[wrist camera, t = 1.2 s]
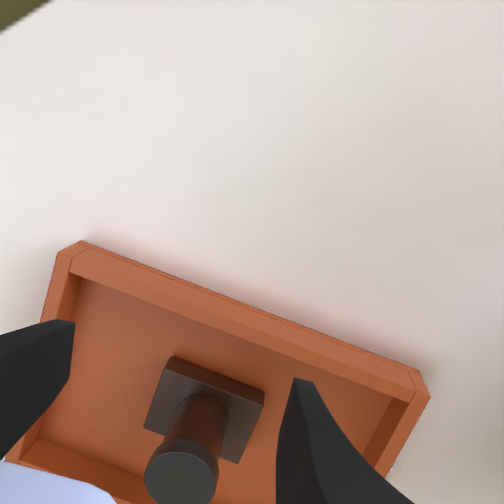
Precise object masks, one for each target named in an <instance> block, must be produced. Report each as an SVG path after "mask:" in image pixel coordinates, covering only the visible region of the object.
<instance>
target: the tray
mask: <svg viewBox="0 0 504 504" xmlns="http://www.w3.org/2000/svg"><path fill="white" fill-rule="evenodd" d="M54 319H61V320H65V321H69V322H73V323H76V326H75V334H74V343H73V351H72V360H71V368H70V377H69V380H68V381H67V383H66V384H65V386H64V387H63V389H62V390H61V392H60V393H59V395H58V396H57V397H56V399H55V400H54V402H53V403H52V404H51V405H50V407H49V408H48V409H47V410H46V411H45V412H44V413H43V414H42V416H41V417H40V418H39V419H38V420H37V421H36V422H35V423H34V424H33V425H32V427H31V428H30V429H29V430H28V431H27V432H26V433H25V434H24V435H23V436H22V437H21V439H20V440H19V441H18V442H17V443H16V444H15V445H14V446H13V447H12V448H11V450H10V451H9V452H8V453H7V454H6V457H5V462H9V463H13V464H17V465H21V466H25V467H28V468H32V469H36V470H40V471H44V472H48V473H51V474H55V475H59V476H63V477H67V478H70V479H74V480H78V481H82V482H86V483H90V484H92V485H94V486H96V487H98V488H100V489H102V490H104V491H106V492H108V493H109V494H110V496H111V497H112V498H113V499H114V501H115V502H116V503H117V504H157V503H156V502H155V501H154V500H153V499H152V498H151V496H150V495H149V493H148V492H147V490H146V487H145V483H144V473H145V469H146V467H147V465H148V462H149V460H150V458H151V456H152V454H153V452H154V451H155V449H156V448H157V447H158V446H160V445H161V444H162V442H163V440H164V437H165V436H163V435H160V434H158V433H155V432H152V431H150V430H147V429H145V428H143V425H144V423H145V420H146V417H147V414H148V411H149V408H150V406H151V403H152V400H153V397H154V394H155V391H156V389H157V386H158V383H159V380H160V377H161V374H162V372H163V369H164V367H165V365H166V363H167V362H168V360H169V358H170V357H173V356H175V357H178V358H180V359H183V360H186V361H188V362H191V363H193V364H196V365H199V366H201V367H204V368H206V369H209V370H212V371H214V372H217V373H219V374H222V375H225V376H227V377H230V378H232V379H235V380H237V381H240V382H243V383H245V384H248V385H250V386H253V387H256V388H258V389H261V390H263V391H264V393H265V400H264V407H263V409H262V411H261V414H260V416H259V418H258V421H257V423H256V425H255V427H254V430H253V432H252V434H251V436H250V439H249V441H248V443H247V446H246V448H245V450H244V452H243V455H242V457H241V459H240V462H239V463H238V464H235V463H233V462H230V461H227V460H225V459H222V458H220V457H219V460H218V467H219V478H218V483H217V487H216V491H215V494H214V497H213V499H212V500H211V501H210V503H209V504H276V453H277V445H278V437H279V430H280V426H281V423H282V419H283V415H284V412H285V408H286V405H287V401H288V397H289V394H290V390H291V386H292V383H293V379H294V377H296V378H300V379H304V380H308V381H312V382H313V383H314V384H315V386H316V388H317V390H318V392H319V393H320V395H321V397H322V399H323V401H324V403H325V404H326V406H327V408H328V410H329V411H330V413H331V415H332V416H333V418H334V419H335V421H336V423H337V424H338V426H339V427H340V429H341V430H342V431H343V433H344V434H345V435H346V437H347V438H348V439H349V441H350V442H351V443H352V445H353V446H354V447H355V448H356V450H357V451H358V452H359V453H360V454H361V455H362V456H363V457H364V459H365V460H366V461H367V462H368V463H369V464H370V465H371V466H372V467H373V468H374V469H375V470H376V471H377V472H378V473H379V474H380V475H381V476H382V477H383V478H384V479H385V478H386V476H387V474H388V472H389V471H390V469H391V467H392V465H393V463H394V462H395V460H396V458H397V456H398V454H399V453H400V451H401V449H402V447H403V446H404V444H405V442H406V440H407V438H408V437H409V435H410V433H411V431H412V430H413V428H414V426H415V424H416V422H417V421H418V419H419V417H420V415H421V414H422V412H423V410H424V408H425V406H426V405H427V403H428V401H429V399H430V398H431V395H430V393H429V391H428V389H427V387H426V385H425V383H424V381H423V379H422V377H421V375H420V373H419V371H418V370H415V369H413V368H410V367H407V366H405V365H402V364H400V363H397V362H394V361H392V360H389V359H387V358H384V357H381V356H379V355H376V354H374V353H371V352H368V351H366V350H363V349H361V348H358V347H356V346H353V345H350V344H348V343H345V342H343V341H340V340H337V339H335V338H332V337H330V336H327V335H324V334H322V333H319V332H317V331H314V330H311V329H309V328H306V327H304V326H301V325H299V324H296V323H293V322H291V321H288V320H286V319H283V318H280V317H278V316H275V315H273V314H270V313H267V312H265V311H262V310H260V309H257V308H254V307H252V306H249V305H247V304H244V303H242V302H239V301H236V300H234V299H231V298H229V297H226V296H223V295H221V294H218V293H216V292H213V291H210V290H208V289H205V288H203V287H200V286H197V285H195V284H192V283H190V282H187V281H185V280H182V279H179V278H177V277H174V276H172V275H169V274H166V273H164V272H161V271H159V270H156V269H153V268H151V267H148V266H146V265H143V264H140V263H138V262H135V261H133V260H130V259H127V258H125V257H122V256H120V255H117V254H115V253H112V252H109V251H107V250H104V249H102V248H99V247H96V246H94V245H91V244H89V243H86V242H83V241H79V242H77V243H75V244H73V245H71V246H69V247H67V248H65V249H63V250H61V251H59V252H58V253H57V257H56V261H55V265H54V269H53V273H52V276H51V280H50V284H49V288H48V292H47V296H46V300H45V304H44V308H43V312H42V316H41V320H40V323H42V322H46V321H49V320H54Z"/></svg>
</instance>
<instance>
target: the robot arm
mask: <svg viewBox="0 0 504 504" xmlns="http://www.w3.org/2000/svg"><path fill="white" fill-rule="evenodd" d="M75 326H76V323H73V322H69V321H65V320H61V319H54V320H49V321H46V322H42V323H38V324H35V325H32V326H29V327H25V328H22V329H19V330H16V331H12V332H9V333H6V334H2V335H0V504H117V503H116V502H115V501H114V499H113V498H112V497H111V496H110V494H109V493H108V492H106V491H104V490H102V489H100V488H98V487H96V486H94V485H92V484H90V483H86V482H82V481H78V480H74V479H70V478H67V477H63V476H59V475H55V474H51V473H48V472H44V471H40V470H36V469H32V468H28V467H25V466H21V465H17V464H13V463H9V462H5V461H2V458H3V457H4V456H5V455H6V454H7V453H8V452H9V451H10V450H11V448H12V447H13V446H14V445H15V444H16V443H17V442H18V441H19V440H20V439H21V437H22V436H23V435H24V434H25V433H26V432H27V431H28V430H29V429H30V428H31V427H32V425H33V424H34V423H35V422H36V421H37V420H38V419H39V418H40V417H41V416H42V414H43V413H44V412H45V411H46V410H47V409H48V408H49V407H50V405H51V404H52V403H53V402H54V400H55V399H56V397H57V396H58V395H59V393H60V392H61V390H62V389H63V387H64V386H65V384H66V383H67V381H68V380H69V377H70V368H71V360H72V351H73V343H74V334H75ZM276 504H414V503H413V502H412V501H411V500H409V499H408V498H407V497H405V496H404V495H403V494H402V493H400V492H399V491H398V490H397V489H396V488H394V487H393V486H392V485H391V484H390V483H389V482H388V481H386V480H385V479H384V478H383V477H382V476H381V475H380V474H379V473H378V472H377V471H376V470H375V469H374V468H373V467H372V466H371V465H370V464H369V463H368V462H367V461H366V460H365V459H364V457H363V456H362V455H361V454H360V453H359V452H358V451H357V450H356V448H355V447H354V446H353V445H352V443H351V442H350V441H349V439H348V438H347V437H346V435H345V434H344V433H343V431H342V430H341V429H340V427H339V426H338V424H337V423H336V421H335V419H334V418H333V416H332V415H331V413H330V411H329V410H328V408H327V406H326V404H325V403H324V401H323V399H322V397H321V395H320V393H319V392H318V390H317V388H316V386H315V384H314V383H313V382H312V381H308V380H304V379H300V378H296V377H294V379H293V383H292V386H291V390H290V394H289V397H288V401H287V405H286V408H285V412H284V415H283V419H282V423H281V426H280V430H279V437H278V445H277V453H276Z"/></svg>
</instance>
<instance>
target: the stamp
mask: <svg viewBox="0 0 504 504" xmlns="http://www.w3.org/2000/svg"><path fill="white" fill-rule="evenodd" d="M264 400H265V393H264V391H263V390H261V389H258V388H256V387H253V386H250V385H248V384H245V383H243V382H240V381H237V380H235V379H232V378H230V377H227V376H225V375H222V374H219V373H217V372H214V371H212V370H209V369H206V368H204V367H201V366H199V365H196V364H193V363H191V362H188V361H186V360H183V359H180V358H178V357H175V356H173V357H170V358H169V360H168V362H167V363H166V365H165V367H164V369H163V372H162V374H161V377H160V380H159V383H158V386H157V389H156V391H155V394H154V397H153V400H152V403H151V406H150V408H149V411H148V414H147V417H146V420H145V423H144V425H143V428H145V429H147V430H150V431H152V432H155V433H158V434H160V435H163V436H165V437H164V440H163V442H162V444H161V445H160V446H158V447H157V448H156V449H155V451H154V452H153V454H152V456H151V458H150V460H149V462H148V465H147V467H146V469H145V473H144V483H145V487H146V490H147V492H148V493H149V495H150V496H151V498H152V499H153V500H154V501H155V502H156V503H157V504H209V503H210V501H211V500H212V499H213V497H214V494H215V491H216V487H217V483H218V478H219V467H218V460H219V457H220V458H222V459H225V460H227V461H230V462H233V463H235V464H238V463H239V462H240V459H241V457H242V455H243V452H244V450H245V448H246V446H247V443H248V441H249V439H250V436H251V434H252V432H253V430H254V427H255V425H256V423H257V421H258V418H259V416H260V414H261V411H262V409H263V407H264Z"/></svg>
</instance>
